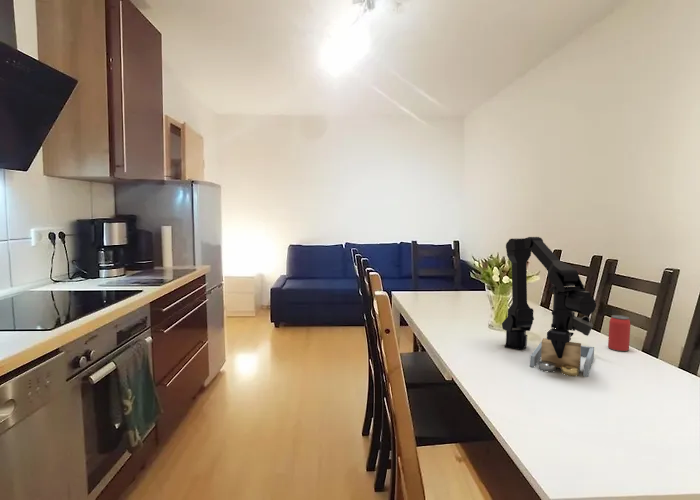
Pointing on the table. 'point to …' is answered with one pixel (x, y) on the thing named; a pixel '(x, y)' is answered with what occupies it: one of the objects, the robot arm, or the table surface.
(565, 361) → the wooden plank block
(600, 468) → the table surface
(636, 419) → the table surface
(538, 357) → the cubby
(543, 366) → the gunmetal token
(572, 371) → the brass token
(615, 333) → the beer can
